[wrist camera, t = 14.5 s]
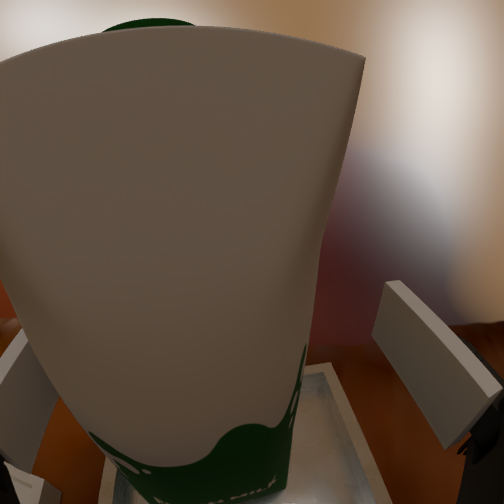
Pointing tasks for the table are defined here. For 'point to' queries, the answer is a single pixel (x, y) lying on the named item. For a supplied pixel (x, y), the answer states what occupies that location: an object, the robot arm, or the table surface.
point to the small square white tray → (33, 488)
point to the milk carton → (174, 239)
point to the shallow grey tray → (305, 454)
